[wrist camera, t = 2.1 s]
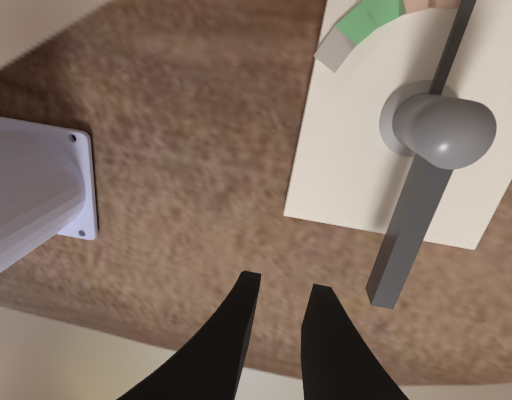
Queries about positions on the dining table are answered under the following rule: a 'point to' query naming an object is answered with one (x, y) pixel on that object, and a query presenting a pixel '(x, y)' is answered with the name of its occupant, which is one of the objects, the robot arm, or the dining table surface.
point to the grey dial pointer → (429, 164)
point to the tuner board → (385, 105)
